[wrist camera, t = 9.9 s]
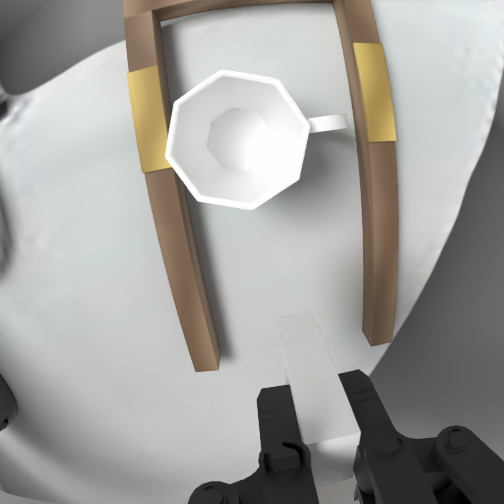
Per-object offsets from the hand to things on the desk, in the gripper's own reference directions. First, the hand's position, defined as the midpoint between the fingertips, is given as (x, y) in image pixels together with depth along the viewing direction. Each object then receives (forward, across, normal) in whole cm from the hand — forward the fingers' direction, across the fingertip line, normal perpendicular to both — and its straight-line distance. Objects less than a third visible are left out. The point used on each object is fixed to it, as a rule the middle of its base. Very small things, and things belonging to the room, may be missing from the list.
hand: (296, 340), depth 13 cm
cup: (+12, 0, +9) cm, 15 cm away
